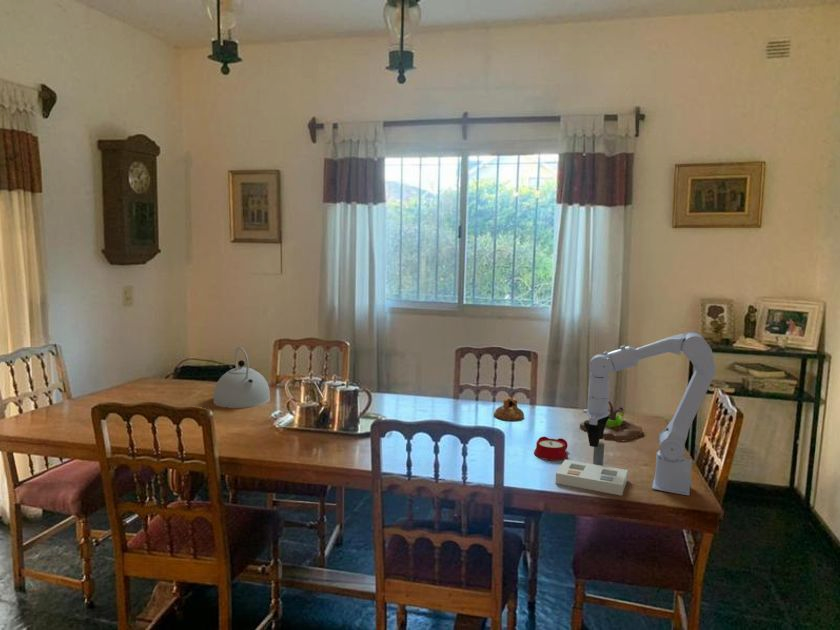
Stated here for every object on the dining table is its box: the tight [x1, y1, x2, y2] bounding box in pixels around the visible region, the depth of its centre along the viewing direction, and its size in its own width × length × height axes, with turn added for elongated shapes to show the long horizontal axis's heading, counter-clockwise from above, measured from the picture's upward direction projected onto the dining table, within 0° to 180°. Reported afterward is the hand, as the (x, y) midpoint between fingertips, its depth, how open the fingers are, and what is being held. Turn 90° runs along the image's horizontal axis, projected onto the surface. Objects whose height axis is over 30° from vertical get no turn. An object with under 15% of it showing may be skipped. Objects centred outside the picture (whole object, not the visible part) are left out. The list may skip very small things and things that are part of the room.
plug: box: [592, 439, 605, 466], centre depth 181 cm, size 3×3×9 cm
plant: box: [579, 401, 643, 442], centre depth 218 cm, size 20×20×11 cm
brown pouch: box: [493, 397, 525, 422], centre depth 234 cm, size 12×12×7 cm
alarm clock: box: [533, 436, 568, 461], centre depth 194 cm, size 10×6×15 cm
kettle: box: [213, 346, 271, 409], centre depth 248 cm, size 25×23×22 cm
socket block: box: [555, 459, 629, 496], centre depth 171 cm, size 18×12×3 cm, turn 65°
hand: (595, 442), depth 174 cm, fingers open, 7 cm apart
